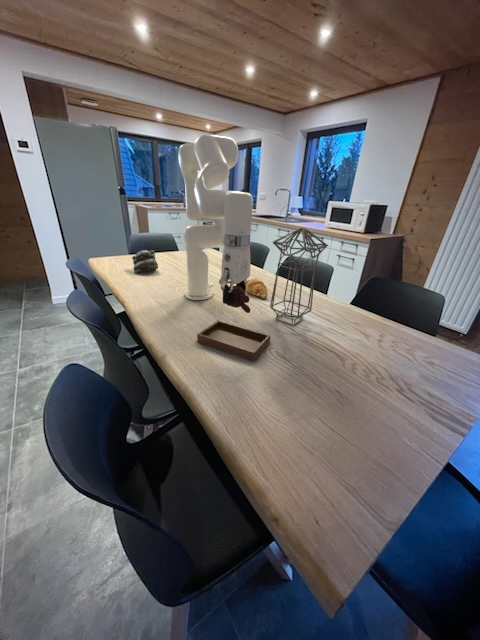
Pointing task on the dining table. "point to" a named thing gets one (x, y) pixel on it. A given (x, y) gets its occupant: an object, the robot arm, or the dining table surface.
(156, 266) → the grey lumpy block
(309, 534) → the dining table surface
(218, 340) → the tray
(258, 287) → the croissant
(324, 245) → the geometric lantern
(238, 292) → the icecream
